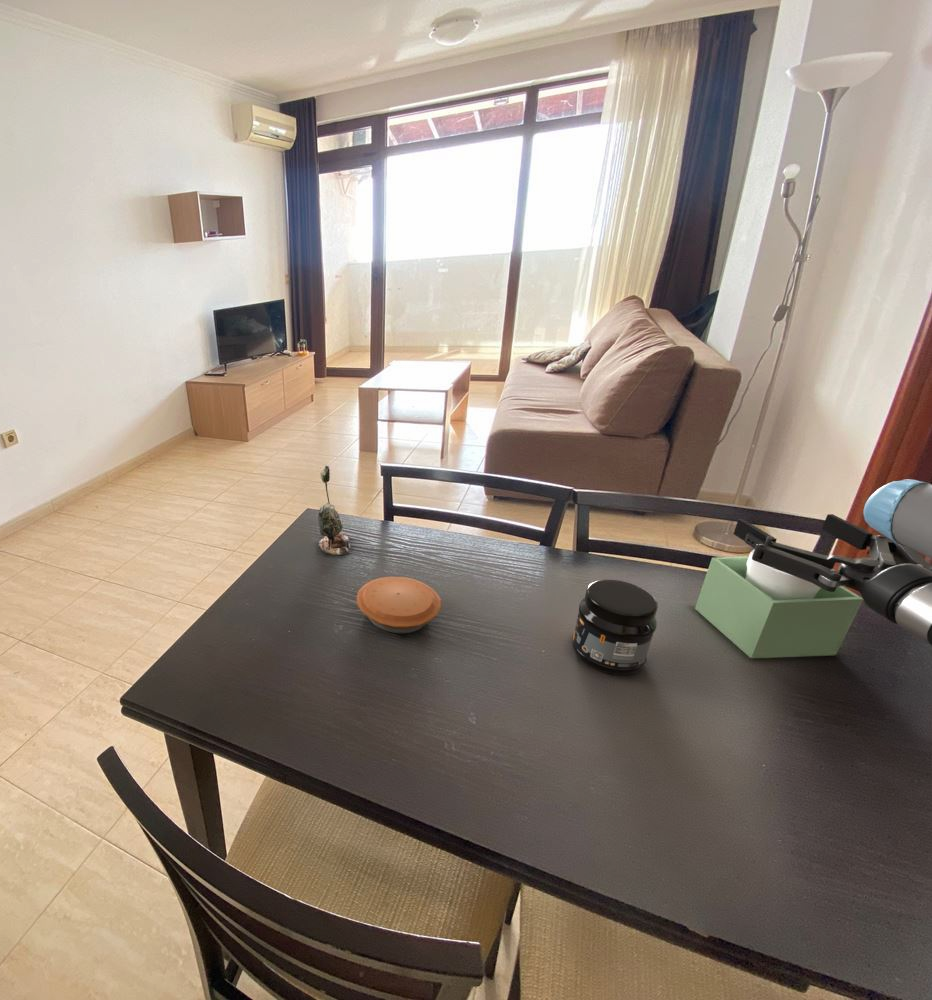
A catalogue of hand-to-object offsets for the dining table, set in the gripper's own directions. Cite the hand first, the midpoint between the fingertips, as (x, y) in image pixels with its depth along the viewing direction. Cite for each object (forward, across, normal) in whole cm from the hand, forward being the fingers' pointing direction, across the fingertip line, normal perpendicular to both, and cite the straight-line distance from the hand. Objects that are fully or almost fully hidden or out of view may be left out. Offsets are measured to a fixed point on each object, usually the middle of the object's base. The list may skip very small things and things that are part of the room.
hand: (782, 524), depth 87 cm
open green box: (-3, 0, -19) cm, 19 cm away
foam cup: (-3, 0, -18) cm, 19 cm away
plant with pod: (+31, -70, -19) cm, 79 cm away
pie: (+5, -60, -19) cm, 63 cm away
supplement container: (-8, -28, -19) cm, 35 cm away
